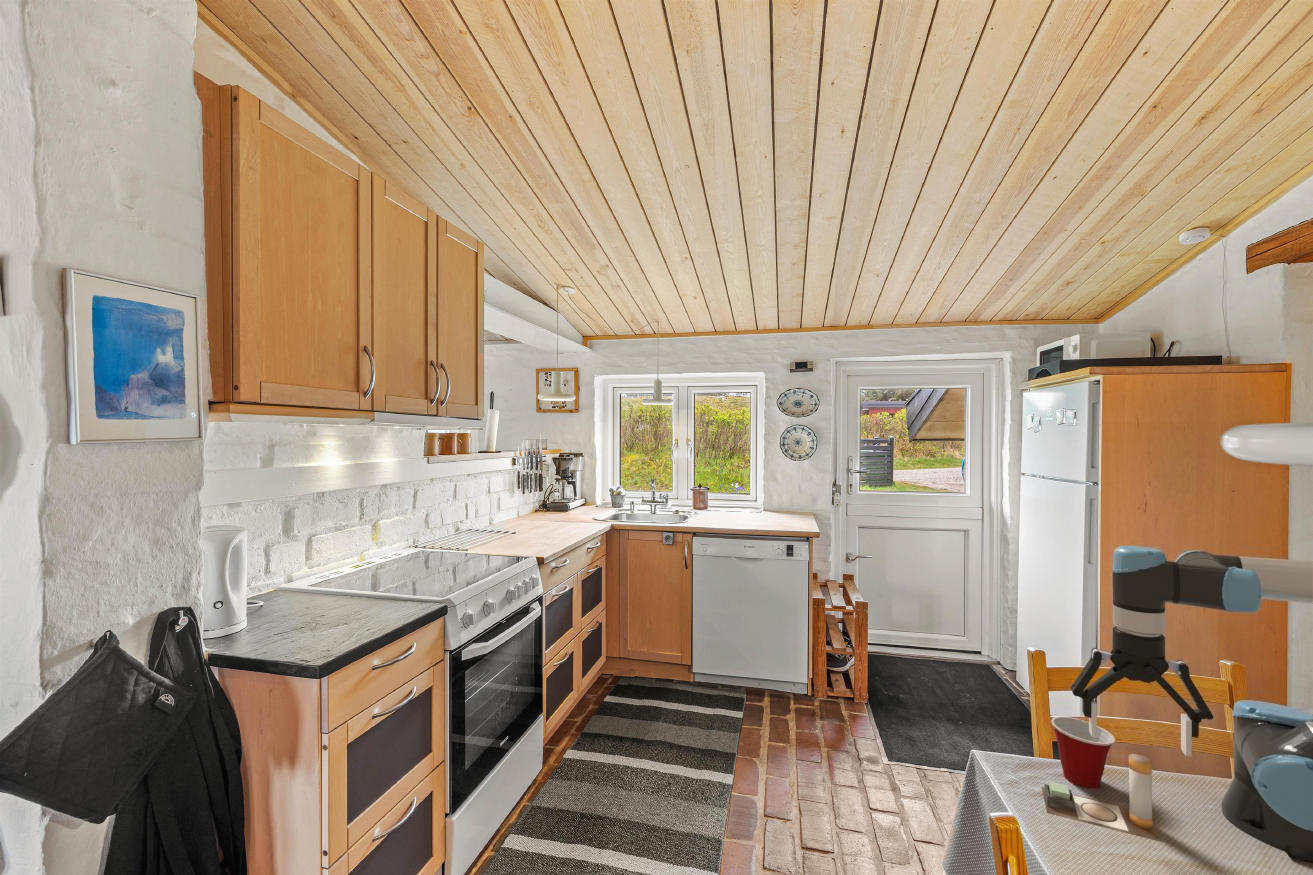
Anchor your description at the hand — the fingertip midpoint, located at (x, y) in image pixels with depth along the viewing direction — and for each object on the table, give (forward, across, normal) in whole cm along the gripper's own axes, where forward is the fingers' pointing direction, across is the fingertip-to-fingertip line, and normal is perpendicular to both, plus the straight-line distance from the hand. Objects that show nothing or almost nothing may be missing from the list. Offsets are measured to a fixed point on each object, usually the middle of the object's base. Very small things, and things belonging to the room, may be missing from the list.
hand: (1138, 743), depth 106 cm
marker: (+15, 0, 0) cm, 15 cm away
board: (+16, +6, 0) cm, 17 cm away
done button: (+14, +12, 0) cm, 18 cm away
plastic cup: (+16, +7, -11) cm, 21 cm away
